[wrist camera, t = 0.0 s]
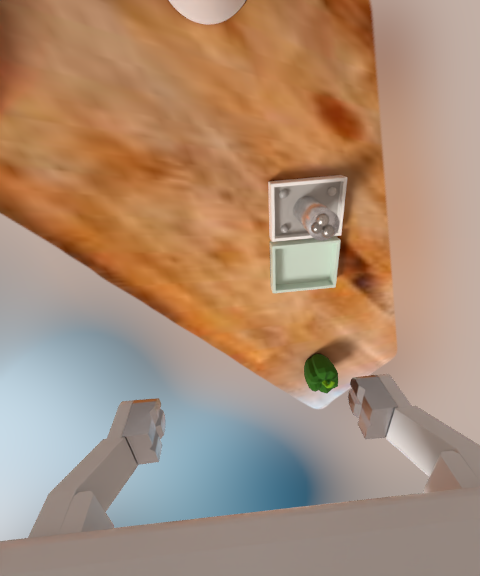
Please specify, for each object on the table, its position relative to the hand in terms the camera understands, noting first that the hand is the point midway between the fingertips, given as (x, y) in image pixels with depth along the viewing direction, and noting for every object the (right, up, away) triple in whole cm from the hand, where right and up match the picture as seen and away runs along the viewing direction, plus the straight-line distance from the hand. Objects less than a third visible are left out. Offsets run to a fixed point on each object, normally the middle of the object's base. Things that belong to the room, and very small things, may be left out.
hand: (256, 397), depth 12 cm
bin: (+13, +10, +50) cm, 53 cm away
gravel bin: (+12, +21, +44) cm, 51 cm away
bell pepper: (+20, -15, +66) cm, 70 cm away
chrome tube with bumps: (+12, +20, +43) cm, 49 cm away
